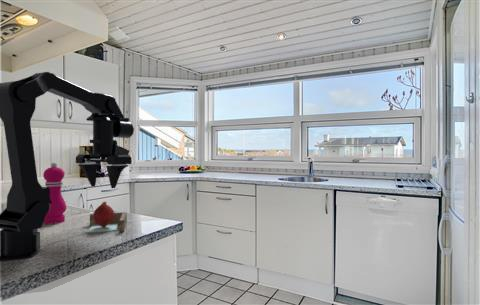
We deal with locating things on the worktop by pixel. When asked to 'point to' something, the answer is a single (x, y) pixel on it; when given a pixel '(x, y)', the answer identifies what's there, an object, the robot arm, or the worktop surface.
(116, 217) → the arena
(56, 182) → the pepper mill
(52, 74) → the robot arm
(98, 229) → the pad
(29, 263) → the worktop surface
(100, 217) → the onion
